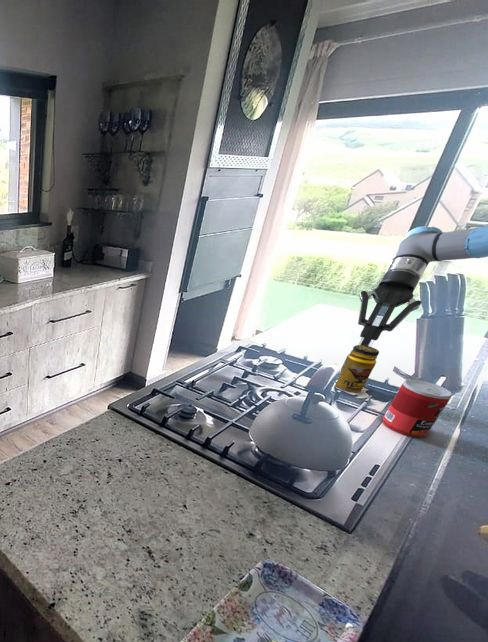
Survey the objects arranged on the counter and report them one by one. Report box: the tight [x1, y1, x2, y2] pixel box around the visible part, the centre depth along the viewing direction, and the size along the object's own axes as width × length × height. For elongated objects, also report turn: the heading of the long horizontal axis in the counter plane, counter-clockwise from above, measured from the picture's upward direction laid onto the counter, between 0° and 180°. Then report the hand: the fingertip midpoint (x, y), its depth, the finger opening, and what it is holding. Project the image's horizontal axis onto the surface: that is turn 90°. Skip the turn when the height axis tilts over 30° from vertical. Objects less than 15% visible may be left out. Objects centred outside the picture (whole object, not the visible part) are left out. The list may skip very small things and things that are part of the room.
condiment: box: [335, 344, 380, 396], centre depth 110 cm, size 7×8×12 cm
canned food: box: [382, 378, 453, 438], centre depth 92 cm, size 8×8×11 cm
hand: (363, 347), depth 110 cm, fingers closed
